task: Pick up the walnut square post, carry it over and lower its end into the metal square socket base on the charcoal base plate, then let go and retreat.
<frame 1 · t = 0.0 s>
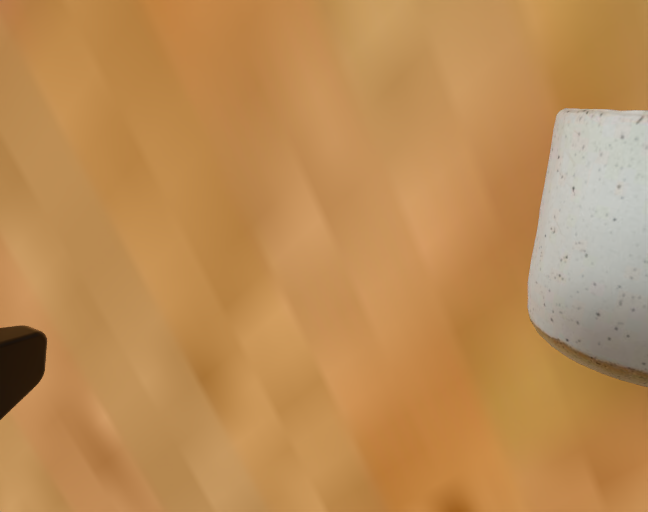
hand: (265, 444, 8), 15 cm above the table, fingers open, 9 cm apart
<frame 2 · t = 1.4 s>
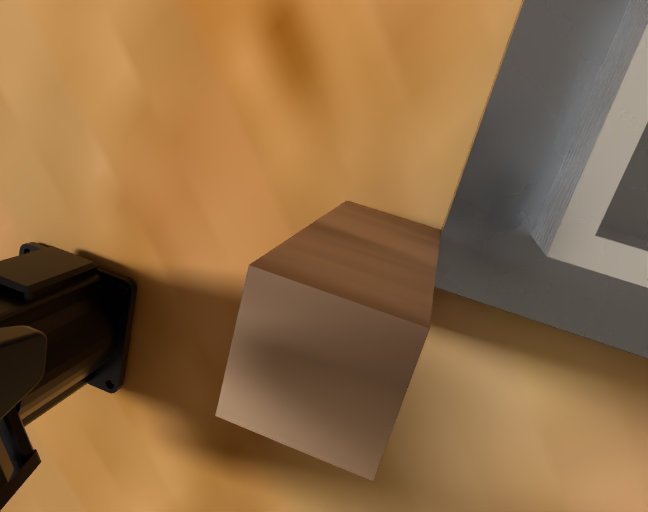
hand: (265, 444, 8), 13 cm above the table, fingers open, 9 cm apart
walnut post: (378, 260, 20), on the table
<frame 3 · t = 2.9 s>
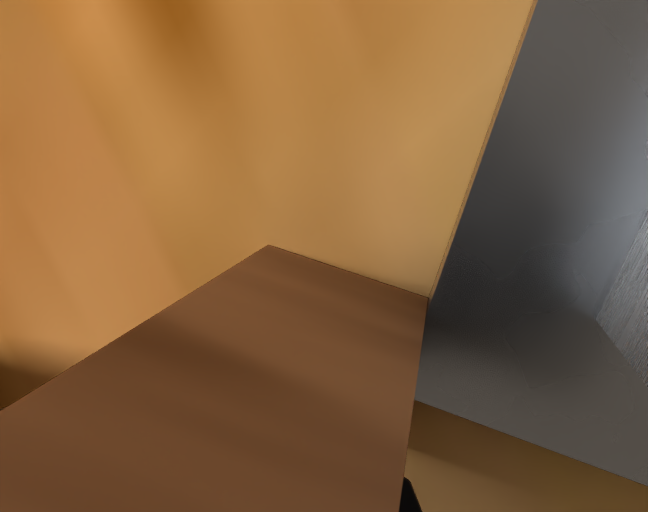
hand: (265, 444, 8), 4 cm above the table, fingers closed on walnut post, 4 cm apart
walnut post: (324, 343, 12), on the table, touching gripper
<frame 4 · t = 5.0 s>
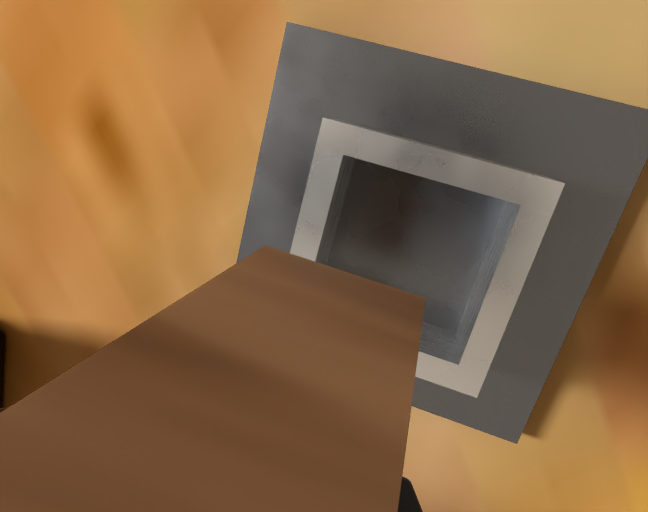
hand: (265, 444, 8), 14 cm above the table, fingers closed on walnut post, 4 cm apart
walnut post: (322, 343, 12), point 10 cm above the table, touching gripper
metal square socket base: (409, 238, 20), on the table
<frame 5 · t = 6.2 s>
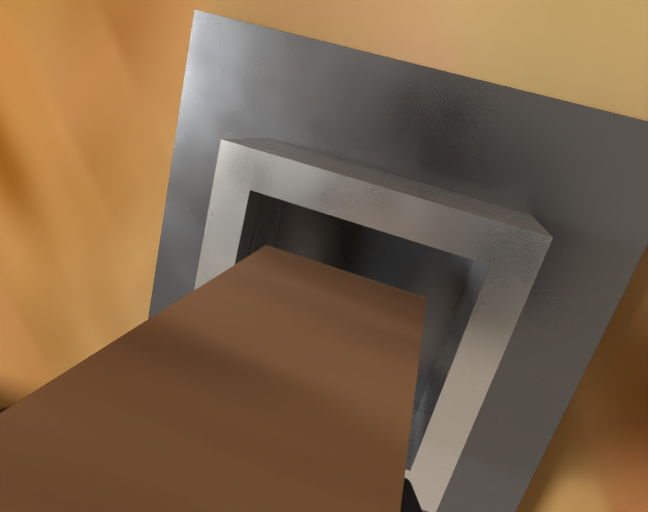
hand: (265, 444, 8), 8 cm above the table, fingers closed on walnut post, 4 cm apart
walnut post: (323, 343, 12), point 4 cm above the table, touching gripper
metal square socket base: (361, 287, 16), on the table
when the fingers open (6 cm above the table, at t = 7.0 s): walnut post drops 1 cm, resting on metal square socket base.
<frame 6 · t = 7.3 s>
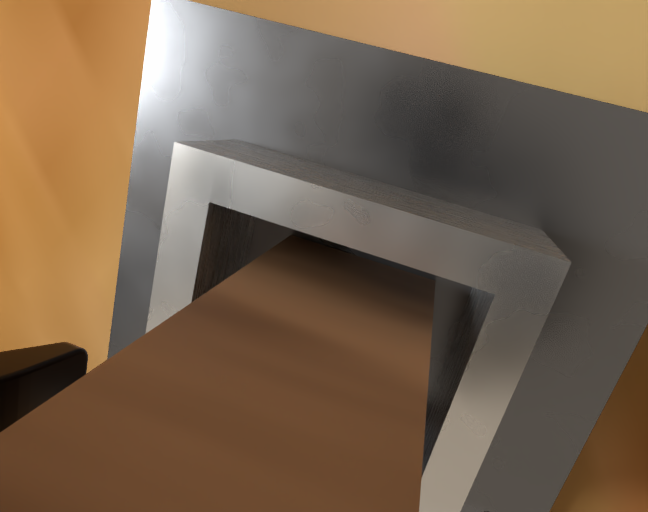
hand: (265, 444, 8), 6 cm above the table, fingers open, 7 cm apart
walnut post: (342, 323, 13), point 1 cm above the table, touching metal square socket base
metal square socket base: (346, 308, 14), on the table
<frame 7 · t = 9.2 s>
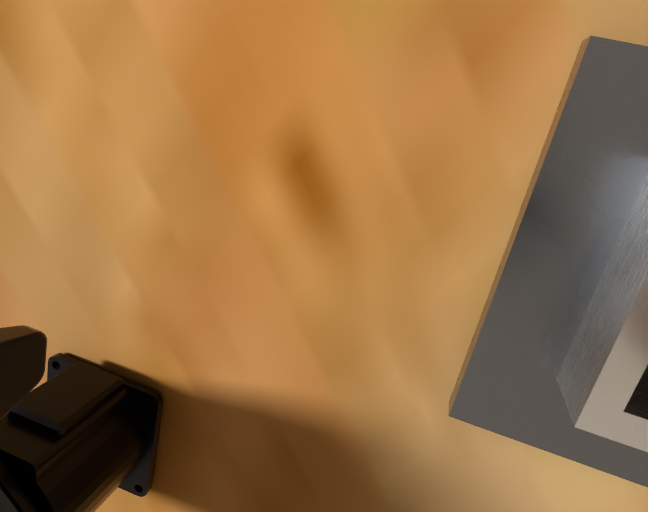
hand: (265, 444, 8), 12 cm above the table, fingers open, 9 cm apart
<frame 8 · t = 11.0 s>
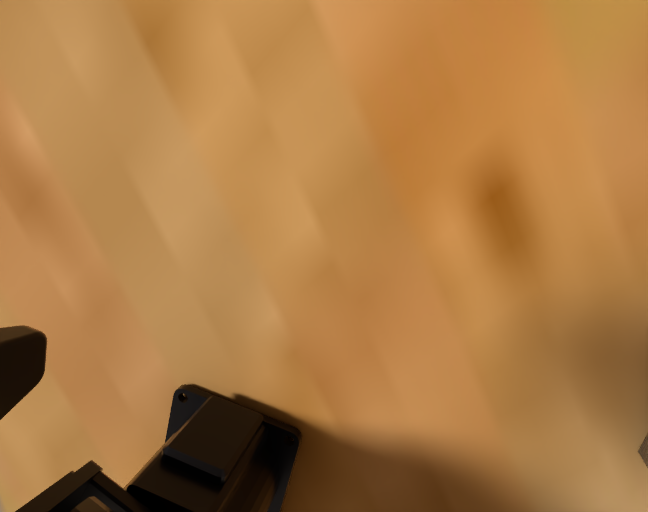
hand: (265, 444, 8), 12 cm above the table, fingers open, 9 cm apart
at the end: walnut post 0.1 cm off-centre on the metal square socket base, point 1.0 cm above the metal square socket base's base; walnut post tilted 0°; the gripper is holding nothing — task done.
